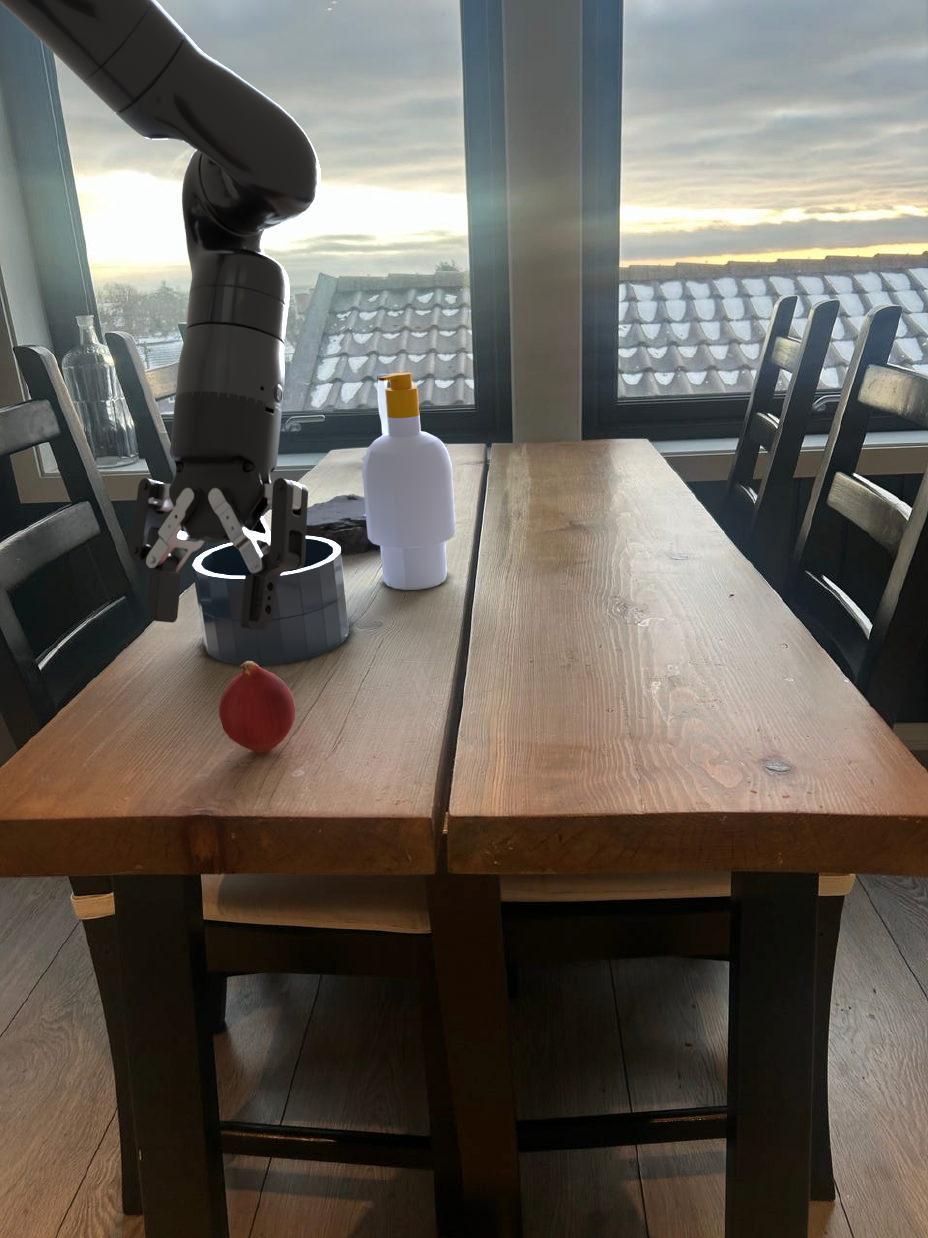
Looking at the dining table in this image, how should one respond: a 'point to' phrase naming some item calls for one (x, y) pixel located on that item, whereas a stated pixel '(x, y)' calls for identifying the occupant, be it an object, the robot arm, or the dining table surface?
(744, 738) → the dining table surface
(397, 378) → the soap bottle
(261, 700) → the onion
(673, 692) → the dining table surface
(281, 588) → the pot
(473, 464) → the dining table surface
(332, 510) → the rock sample
